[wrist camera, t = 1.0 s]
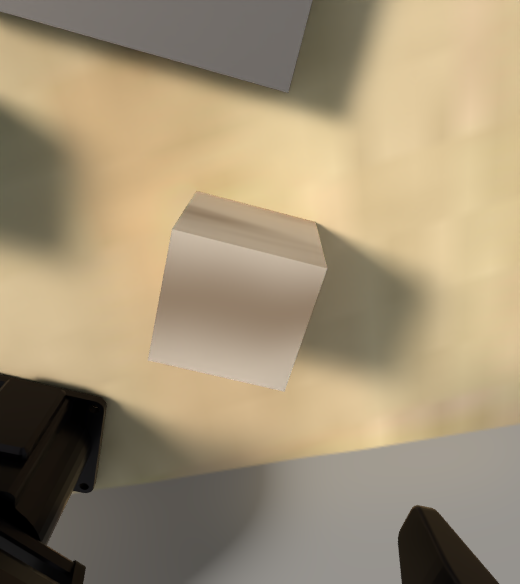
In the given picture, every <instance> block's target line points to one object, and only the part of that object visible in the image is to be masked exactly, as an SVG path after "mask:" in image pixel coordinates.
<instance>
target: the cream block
mask: <svg viewBox="0 0 520 584" xmlns="http://www.w3.org/2000/svg"><path fill="white" fill-rule="evenodd" d="M326 271H327V265H326V261H325V257H324V253H323V249H322V245H321V241H320V237H319V233H318V230H317V226H316V222H313V221H309V220H306V219H302V218H298V217H294V216H290V215H287V214H283V213H279V212H275V211H271V210H267V209H264V208H260V207H256V206H252V205H248V204H245V203H241V202H237V201H233V200H229V199H225V198H222V197H218V196H214V195H210V194H206V193H203V192H199V191H196V192H195V194H194V196H193V197H192V199H191V200H190V202H189V203H188V205H187V206H186V208H185V210H184V211H183V213H182V214H181V216H180V217H179V219H178V221H177V222H176V224H175V225H174V227H173V228H172V232H171V237H170V243H169V248H168V254H167V259H166V265H165V270H164V276H163V281H162V287H161V292H160V297H159V303H158V308H157V314H156V319H155V325H154V330H153V336H152V341H151V346H150V352H149V357H148V360H149V361H153V362H158V363H162V364H166V365H171V366H175V367H179V368H184V369H188V370H192V371H197V372H201V373H206V374H210V375H214V376H219V377H223V378H227V379H232V380H236V381H240V382H245V383H249V384H253V385H258V386H262V387H267V388H271V389H275V390H280V391H285V388H286V386H287V383H288V380H289V377H290V374H291V371H292V368H293V366H294V363H295V360H296V357H297V354H298V351H299V348H300V346H301V343H302V340H303V337H304V334H305V331H306V328H307V326H308V323H309V320H310V317H311V314H312V311H313V308H314V306H315V303H316V300H317V297H318V294H319V291H320V288H321V286H322V283H323V280H324V277H325V274H326Z"/></svg>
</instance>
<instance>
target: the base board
mask: <svg viewBox="0 0 520 584" xmlns="http://www.w3.org/2000/svg"><path fill="white" fill-rule="evenodd" d="M311 4H312V0H0V12H4V13H8V14H11V15H15V16H18V17H22V18H25V19H29V20H32V21H36V22H39V23H43V24H46V25H50V26H53V27H57V28H61V29H64V30H68V31H71V32H75V33H78V34H82V35H85V36H89V37H92V38H96V39H99V40H103V41H106V42H110V43H114V44H117V45H121V46H124V47H128V48H131V49H135V50H138V51H142V52H145V53H149V54H152V55H156V56H159V57H163V58H167V59H170V60H174V61H177V62H181V63H184V64H188V65H191V66H195V67H198V68H202V69H205V70H209V71H213V72H216V73H220V74H223V75H227V76H230V77H234V78H237V79H241V80H244V81H248V82H251V83H255V84H258V85H262V86H266V87H269V88H273V89H276V90H280V91H283V92H287V93H288V92H289V88H290V84H291V81H292V77H293V73H294V69H295V65H296V61H297V58H298V54H299V50H300V46H301V42H302V39H303V35H304V31H305V27H306V23H307V19H308V16H309V12H310V8H311Z"/></svg>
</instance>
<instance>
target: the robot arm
mask: <svg viewBox="0 0 520 584" xmlns="http://www.w3.org/2000/svg"><path fill="white" fill-rule="evenodd" d="M93 405H95V406H97V407H98V408H95V407H94V406H93ZM106 408H107V403H106V401H105V400H104V399H103V398H101V397H99V396H95V395H90V394H86V393H81V392H77V391H72V390H68V389H63V388H58V387H54V386H49V385H45V384H40V383H36V382H31V381H27V380H22V379H18V378H13V377H9V376H4V375H0V584H83V581H84V575H85V569H86V567H85V566H84V565H82V564H80V563H79V562H77V561H76V560H75V561H73V562H72V561H71V560H69V559H68V558H66V557H64V556H63V555H61V554H60V553H58V552H56V551H55V550H53V549H51V548H50V547H48V546H47V543H48V541H49V539H50V537H51V535H52V533H53V531H54V529H55V526H56V524H57V522H58V520H59V518H60V516H61V514H62V512H63V510H64V508H65V505H66V504H67V502H68V500H69V498H70V495H71V493H72V491H77V492H82V493H89V492H91V491H92V490H93V488H94V486H95V483H96V478H97V471H98V464H99V457H100V450H101V443H102V436H103V429H104V422H105V415H106ZM398 547H399V558H400V568H401V579H402V584H499V583H498V582H497V581H496V579H495V578H494V577H493V576H492V575H491V574H490V572H489V571H488V570H487V569H486V568H485V567H484V565H483V564H482V563H481V562H480V561H479V560H478V558H477V557H476V556H475V555H474V554H473V553H472V551H471V550H470V549H469V548H468V547H467V545H466V544H465V543H464V542H463V541H462V540H461V538H460V537H459V536H458V535H457V534H456V533H455V532H454V530H453V529H452V528H451V527H450V526H449V524H448V523H447V522H446V521H445V520H444V518H443V517H442V516H441V515H440V514H439V513H438V512H437V511H436V510H435V509H433V508H429V507H424V506H419V505H416V506H414V507H413V508H412V509H411V511H410V513H409V514H408V516H407V518H406V520H405V522H404V524H403V526H402V527H401V529H400V531H399V536H398Z"/></svg>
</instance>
